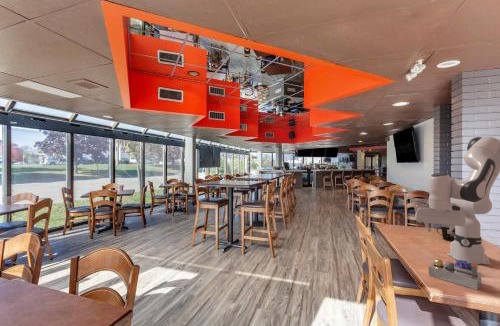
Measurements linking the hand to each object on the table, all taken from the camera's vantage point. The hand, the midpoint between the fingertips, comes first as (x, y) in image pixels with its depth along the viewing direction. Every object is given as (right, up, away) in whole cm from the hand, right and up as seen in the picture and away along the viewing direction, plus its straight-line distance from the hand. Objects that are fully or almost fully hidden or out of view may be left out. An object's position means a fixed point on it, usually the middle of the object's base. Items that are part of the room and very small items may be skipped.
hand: (439, 232), depth 123 cm
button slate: (+3, -18, -3) cm, 18 cm away
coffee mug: (+49, -22, +57) cm, 78 cm away
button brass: (0, -18, 0) cm, 18 cm away
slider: (+9, -17, -10) cm, 21 cm away
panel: (+3, -21, -4) cm, 22 cm away
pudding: (+16, -22, +4) cm, 27 cm away
